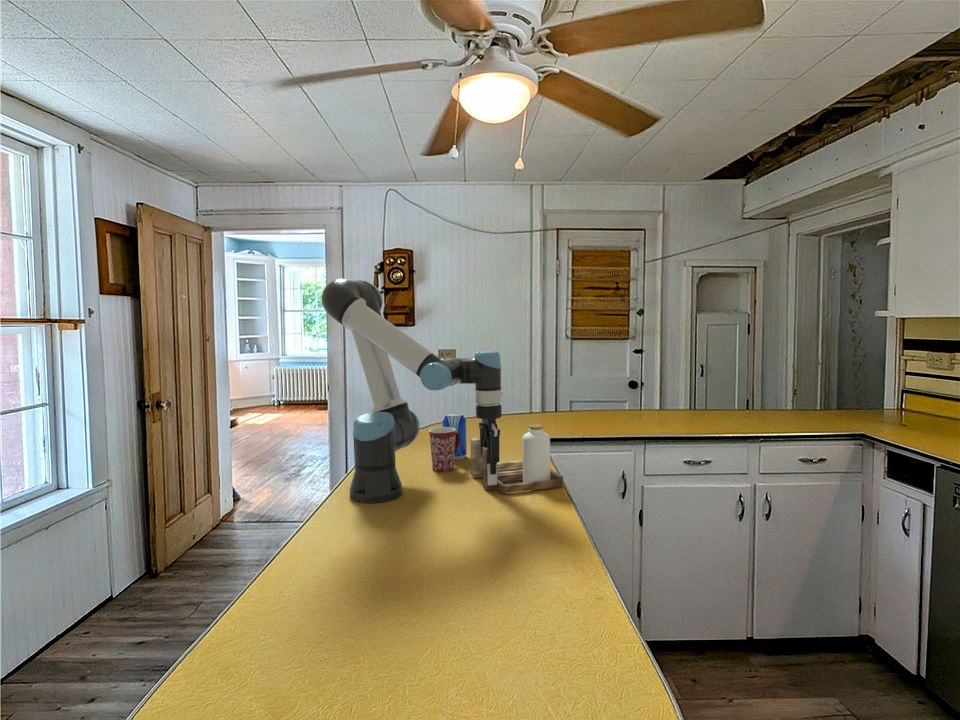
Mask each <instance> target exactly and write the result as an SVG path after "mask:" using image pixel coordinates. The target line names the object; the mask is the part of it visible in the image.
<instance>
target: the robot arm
mask: <svg viewBox="0 0 960 720" xmlns="http://www.w3.org/2000/svg"><path fill="white" fill-rule="evenodd" d="M321 303H322V304H321V305H322V307H323V309H324V310H325V312H326V313H327V314H328V315H329V316H330V317H331V318H332V319H334V320H335V321H336V322H337V323H339V324H341V325H342V326H343V327H345V328H346V329H347V330H349V331H351V333H352V336H353V340H354V343H355V346H356V349H357V353H358V356H359V359H360V363H361V366H362V369H363V373H364V376H365V379H366V380H365V381H366V383H367V387H368V390H369V394H370V398H371V401H372V404H373V407H372V408H371V410H370V412H369V413H365V414H361V415H359V416H357V417H356V418H355V419H354V420H353V427H352V437H353V439H352V440H353V454H354V455H353V456H354V458H353V459H354V460H353V461H354V473H353V475H352V479H351V483H350V487H349V493H348V494H349V499H350V500H351V501H353V502H354V503H355V502H356V503H360V504H362V503H363V504H378V503H386V502H390V501H394V500H396V499H399V498H400V497H402V495H403V484H402V481H401V478H400V476H399V473H398V470H397V467H396V452H397V451H399V450H400V449H404V448H406V447H408V446H409V445H410V444H412V443H413V442H414V441H415V439H416V438H417V437H418V435H419V432H420V420H419V418H418V416H417V414H416V413H415V412H414V411H412V410H411V409H410V408H409V403H408V401H407V400H405V399H403V398H402V397H401V395H400V390H399V387H398V383H397V380H396V377H395V374H394V371H393V367H392V364H391V361H390V357H391V358H392V359H394V360H395V361H397V362H398V363H400V364H401V365H402V366H404V367H405V368H406V369H408V370H409V371H411V372H412V373H413V374H415V375H416V376H418V377H419V379H420V382H421V384H422V385H423V387H424V388H426V389H428V390H429V391H440V390H444V389H447V388H448V387H451V386H455V385H459V384H467V385H468V384H469V385H473V384H475V385H474V386H475V387H474V388H475V390H474V391H475V394H474V395H475V403H476V405H475V416H476V418H477V419H480V420H481V422H479V423H478V426H479V438H480V449H481V455H482V447H487V449H488V462H486V464H487V478H488V485H497V471H498V470H497V463H500V460H501V459H500V436H501V430H500V428H499V429H498V424H497V421H496V420H497V419H501V417H502V415H503V412H502V405H501V403H502V396H503V394H504V393H503V392H502V365H501V363H502V361H501V355H500V353H499V352H498V351H495V350H488V351H485V350H483V351H476V352H475V353H474V357H471V358H470V357H469V358H466V357H465V358H462V357H459V358H458V357H455V358H453V357H445V358H440V357H438V356H437V355H436V354H435V353H433V352H432V351H430V350H429V349H428V348H426V347H425V346H423V345H422V344H421V343H419V342H418V341H416V340H415V339H414V338H412V337H411V336H409V335H408V334H407V333H405V332H404V331H403V330H401V329H400V328H398V327H397V326H396V325H394V324H393V323H391V322H390V321H388V319H386V318H384V317H383V315H382V312H381V310H382V307H383V305H384V299H383V295H382V293H381V291H380V290H379V288H378V287H377V286H376V285H375V284H373V283H371V282H369V281H366V280H360V279H357V280H355V279H347V278H337V279H334V280H331V281H330V282H329V283H328V284H327V285H326V286H325V287H324V289H323V290H322V295H321Z"/></svg>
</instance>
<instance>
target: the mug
mask: <svg viewBox="0 0 960 720" xmlns="http://www.w3.org/2000/svg"><path fill="white" fill-rule="evenodd" d="M428 434H429V444H430V454H431V455H430V456H431V462H432V463H431V465H432V466H431V467H432V470H433V471H434V472H439V473H443V472H445V473H446V472H451V471H453V470H454V469H455V460H454V457H455V455H456V452H457V450H458V447H459V442H460V435H459V433H458V432H456V429H454V428H450V427H443V426H442V427H441V426H440V427H434V428H430V429H428Z"/></svg>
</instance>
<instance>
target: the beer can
mask: <svg viewBox="0 0 960 720" xmlns="http://www.w3.org/2000/svg"><path fill="white" fill-rule="evenodd" d="M466 421H467V419H466V418H465V417H464V413H462V412H448V413H445V414H444V417H443V420H442V427H450V428H454V429H456V432H458V433H459V435H460V442H459V447H458V450H457V452H456V455H455V457H454V461H459V460H463V459H465V457H466V456H467V453H468V451H467V448H468V447H467V422H466Z"/></svg>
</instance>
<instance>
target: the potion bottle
mask: <svg viewBox="0 0 960 720" xmlns="http://www.w3.org/2000/svg"><path fill="white" fill-rule="evenodd" d="M550 437H551V436H550V435H549V434H548V433H547V432H545V431H544V428H543V424H529V428H528V432H526V433H524V434H523V435H522V438H521V443H522V444H521V445H522V451H521V452H522V461H523V467H522V470H523V480H522V483H528V482H537V481H547V480H550V469H551V438H550Z"/></svg>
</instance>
